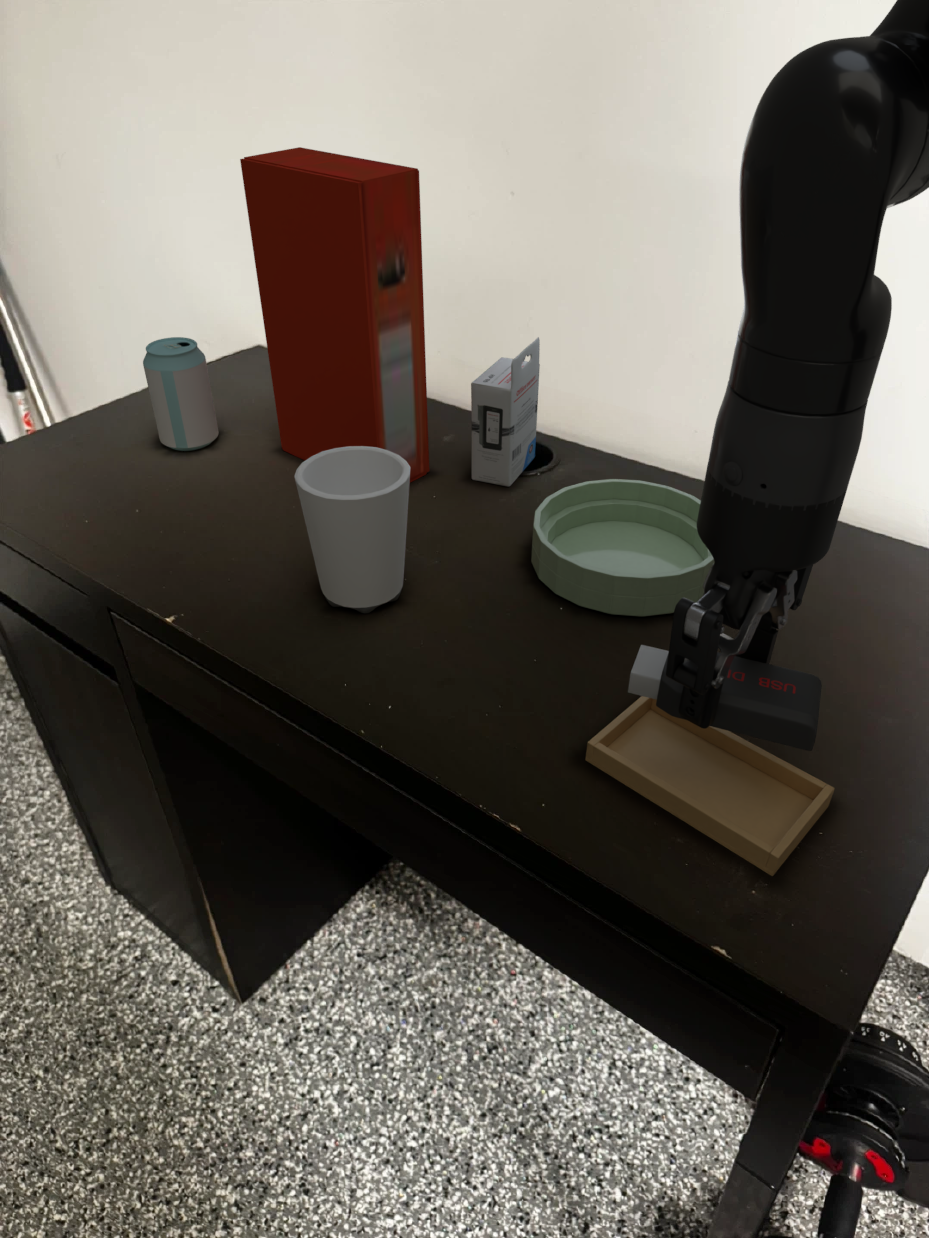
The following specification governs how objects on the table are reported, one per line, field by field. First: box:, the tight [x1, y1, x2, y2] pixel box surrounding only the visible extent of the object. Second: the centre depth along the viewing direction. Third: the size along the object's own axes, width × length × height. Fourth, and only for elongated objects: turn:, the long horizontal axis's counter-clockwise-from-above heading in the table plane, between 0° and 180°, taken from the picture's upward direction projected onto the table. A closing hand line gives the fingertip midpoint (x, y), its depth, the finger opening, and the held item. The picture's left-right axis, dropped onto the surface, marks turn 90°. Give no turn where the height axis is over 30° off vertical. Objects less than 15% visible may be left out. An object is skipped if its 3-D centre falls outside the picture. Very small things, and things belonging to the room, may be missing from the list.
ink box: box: [470, 336, 541, 488], centre depth 99 cm, size 8×5×15 cm, turn 156°
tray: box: [584, 696, 836, 877], centre depth 64 cm, size 15×8×2 cm, turn 47°
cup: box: [293, 446, 411, 614], centre depth 80 cm, size 10×10×13 cm
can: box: [142, 336, 220, 452], centre depth 106 cm, size 7×7×12 cm
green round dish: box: [530, 478, 714, 617], centre depth 86 cm, size 18×18×4 cm
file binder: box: [239, 147, 430, 483], centre depth 95 cm, size 8×17×32 cm, turn 48°
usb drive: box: [627, 644, 823, 752], centre depth 59 cm, size 5×12×3 cm, turn 69°
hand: (723, 692), depth 59 cm, fingers closed on usb drive, 6 cm apart
